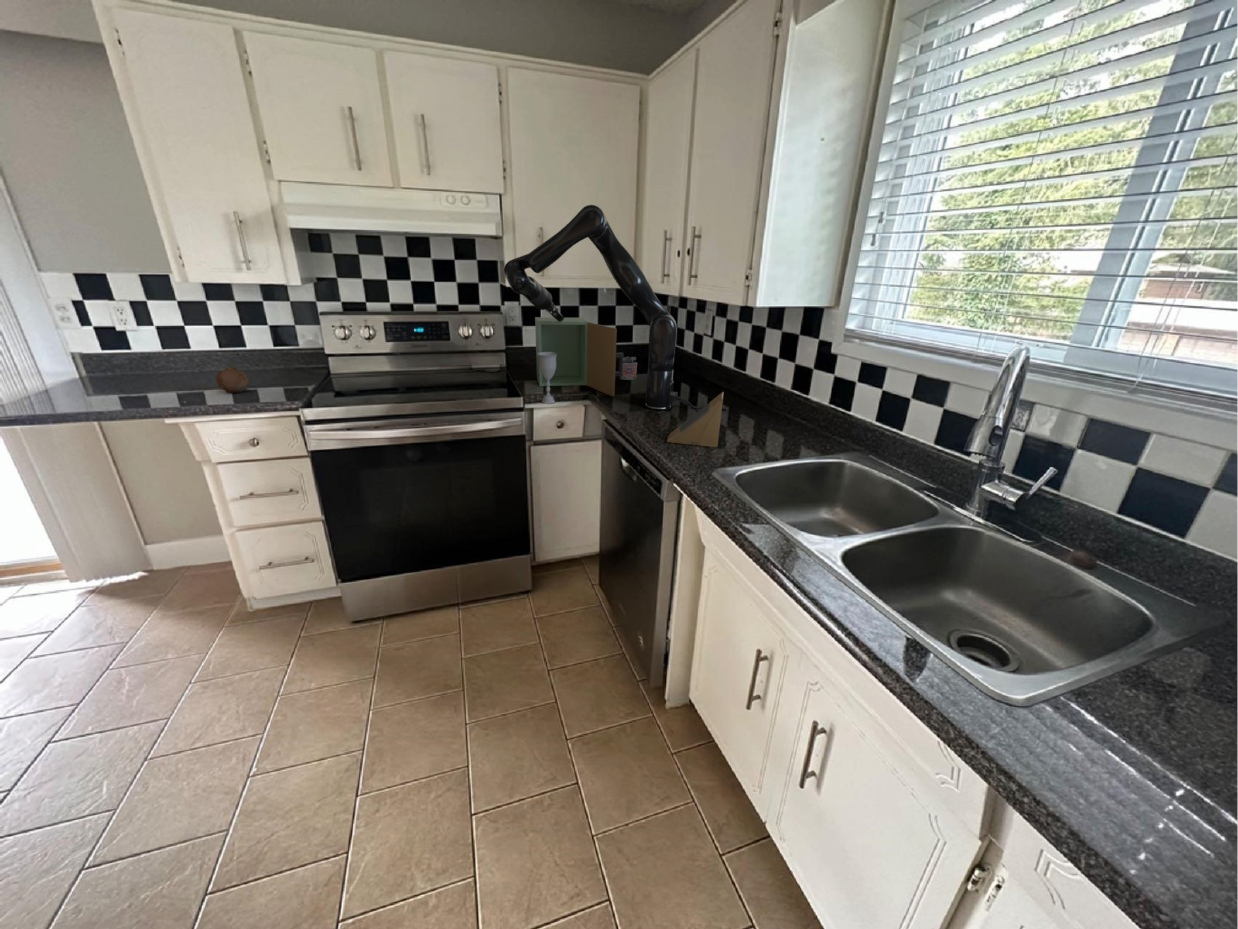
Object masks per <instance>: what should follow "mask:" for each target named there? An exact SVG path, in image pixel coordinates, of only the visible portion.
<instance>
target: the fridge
mask: <svg viewBox="0 0 1238 929" xmlns="http://www.w3.org/2000/svg"><path fill="white" fill-rule="evenodd" d="M588 322H589V321H588V320H586V319H585V318H584V317H564V319H563V320H562V321H557V320H556V319H555V318H554V317H553V316H552V317H549V316H548V317H543V316H541V317H540V316H535V317H534V323H535V324H534V325H535V330H534V331H535V354H536V355H535V358H536V360H535V361H536V362H535V363H536V364H535V365H536V380H537V383H538V385H539V387H547V385H546V383H547V380H546V379H545V378H544V377H543V375H542V373H541V371H540V368H539V356H538V354H537V353H540V352H553V353H557V356H556V370H555V373H554V375H553V377H552V378H551V379H550V380H549V382H550V386H549V387H559V386H560V387H561V386H566V387H567V386H587V331H588Z"/></svg>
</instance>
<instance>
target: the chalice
mask: <svg viewBox="0 0 1238 929" xmlns="http://www.w3.org/2000/svg"><path fill="white" fill-rule="evenodd" d="M537 354H538V356H539V368H540V371H541V373H542V375H543V377H544V378H545V379H546V380H547V383H546V385H547V386H546V388H545V391H546V394H545V395H544V396H543V398H542V401H541V403H542V404H545V405H552V404H555V403H556V400H555V398H554V396H553V395H551V393H550V391H551V386H550V382H549V380H550V379H551V378H552V377H553V375H554V373H555V370H556V356H557V353H553V352H540V353H537Z"/></svg>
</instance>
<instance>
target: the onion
mask: <svg viewBox="0 0 1238 929" xmlns="http://www.w3.org/2000/svg"><path fill="white" fill-rule="evenodd" d="M215 382H216V384H217V386H218V387H219V388H220V389H221V390H223V391H224V392H226V393H230V394H238V393H243V392H245V391H246V390H247V389H248V386H249V378H248V376H247V374H246V373H245V372H243V371H241V370H239V369H238V368H235V367H233V366H229V367H227V368H225V369H222V370H221V371H219V372H218V373H217V374H216V376H215Z"/></svg>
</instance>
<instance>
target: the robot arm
mask: <svg viewBox="0 0 1238 929" xmlns="http://www.w3.org/2000/svg"><path fill="white" fill-rule="evenodd" d="M587 238H588V240H590V242H591V243H592V244H593V245H594V246H595V247H596V249H597V250H598V252H599V253H600V255H601V256H602V258H603V261H604V262H605V265H606V266H607V269H608V271H609V273H610V274H611V276H612V278H613V279H614V281H615V282H616V284H617V285H618V287H619V288H620V289H621V291H622V292H623V294H624V295H625V296H626V297H627V298H628V299H629V301H631V302H632V304H634V306H636V308H637V309H638V310H639V311H640V312H641V314H642V316H643V317H644V319H645V321H646V322H647V324H648V326H649V334H648V336H649V337H648V362H647V379H646V393H645V394H646V395H645V398H644V401H645V408H647V409H650V410H654V411H669V410H670V409H671V408H672V407H673V402H674V403H675V402H676V401H677V400H680V401H683V402H684V403H686V404H688V405H689V406H690V408H692V409H696V410H701V409H702V408H703V407H705V406H706V405H704V406H695V405H693V404H692V403H691V402H690V401H689V400H688V399H685V398H683V397H680V396H678V391H674V381H673V380H674V379H673V377H674V366H675V354H676V342H677V322H676V320H675V318H674V317H673V315H671V314H670V312H668V310H667V309H666V308H665V306H664V305H663V304H662V302H661V301H660V300H659V299H658V297H657V295H656V294H655V292H654V290H653V288H652V285H651V284H650V282H649V280H648V279H647V277H646V275H645V273H644V271H643V270H642V269H641V267H640V266H639V264H638V262H637V261H636V259H634V257H633V256H632V255H631V254H630V252H629V251H628V250H627V249H626V248H625V246H623V244H622V243H621V242H620V241H619V239H618V238H617V236H616V235H615V233H614V231H613V229H612V228H611V225H610V224H609V221H608V219H607V216H606V214H605V213H604V211H603V210H602V208H600V207H599V206H597V205H595V204H588V205H585V206H583V207H582V208H581V209H580V210H579V211H578V213H577V214H576V215H575V216H573V217H572V219H570V221H569V222H568V223H567V224H566V225H565V226H563V228H561V229H560V230H559V231H558V232H555V234H554V235H552V236H551V237H549V238H548V239H546V240H545V241H543V242H542V243H541V244H540V245H538V246H537V247H535V248H534V249H533V250H531V251H530V252H528V253H526V254H523V255H521V256H518V257H515V258H513V259H510V260H509V261H507V262H506V263H505V264H504V265H503V266H504V267H503V268H502V272H503V276H504V277H505V279H506V281H507V283H508V285H509V287H510V288H511V290H512V291H513V292H514V293H515V294H519V295H521V296H523V297H524V298H526V299H527V301H528V302H529V303H530V304H531V305H532V306H534V307H535V308H536V309H537V310H540V311H546V312H548V313H549V314H550V316H552V317H554V318H555V319H556V320H557V321H562V320H563V319H564V318H565V317H564V316H563V314H562V313H561V312H560V311H559V309H558V308H557V306H556V305H555V303H554V302H553V296H552V293H551V292H549V291H548V290H547V289H546V287H544V286H543V285H542V284H541V283H539V282H538V281H537V280H536V279H535V278H533V277H532V276H529V275H528V273H527V272H526V270H527V269H531V271H532V272H534V273H535V274H540V273H541V272H543V271H545V270H546V269H548V268H549V267H551V265H553V264H554V263H555V262H556V261H558V260H559V259H560V258H561V257H563V255H564V254H566V252H568V250H570V249H571V248H572V247H573V246H575V245H577V244H578V243H579V242H581V241H583V240H585V239H587ZM722 411H727V408H726V407H722Z"/></svg>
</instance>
